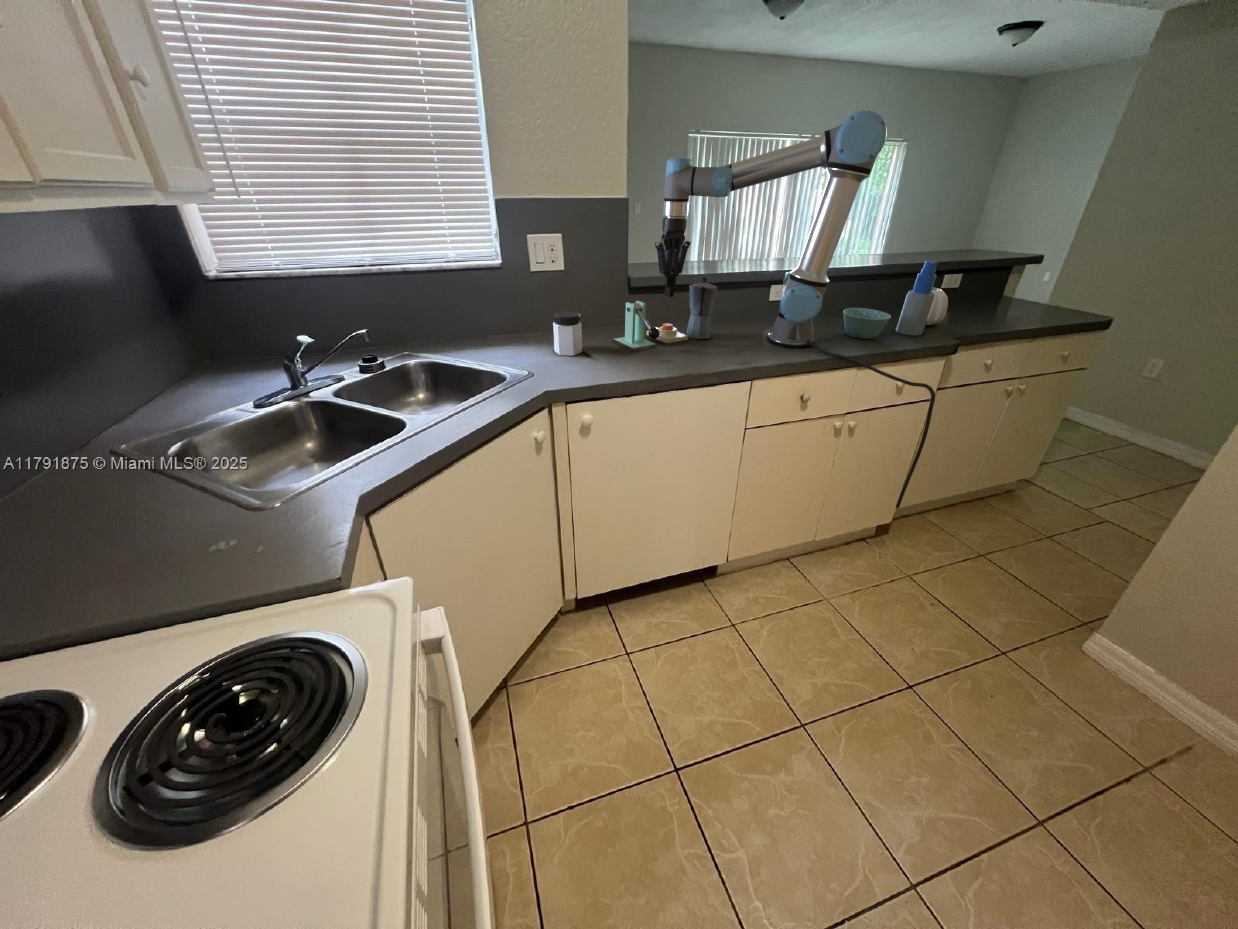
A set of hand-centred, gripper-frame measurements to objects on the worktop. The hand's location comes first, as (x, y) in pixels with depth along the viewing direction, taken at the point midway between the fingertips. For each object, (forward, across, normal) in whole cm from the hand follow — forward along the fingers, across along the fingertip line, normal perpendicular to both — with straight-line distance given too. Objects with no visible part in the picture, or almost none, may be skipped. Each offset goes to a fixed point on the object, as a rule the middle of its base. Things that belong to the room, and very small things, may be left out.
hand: (669, 296), depth 162 cm
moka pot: (+15, -12, +3) cm, 20 cm away
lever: (+7, +13, +4) cm, 15 cm away
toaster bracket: (+15, +13, -1) cm, 20 cm away
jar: (+15, +36, -5) cm, 39 cm away
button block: (+15, 0, 0) cm, 15 cm away
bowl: (+14, -66, +31) cm, 75 cm away
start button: (+11, 0, 0) cm, 11 cm away
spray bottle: (+14, -87, +37) cm, 96 cm away
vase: (+14, -105, +32) cm, 111 cm away
